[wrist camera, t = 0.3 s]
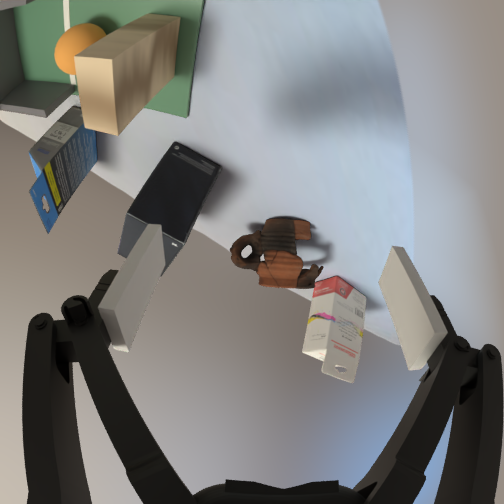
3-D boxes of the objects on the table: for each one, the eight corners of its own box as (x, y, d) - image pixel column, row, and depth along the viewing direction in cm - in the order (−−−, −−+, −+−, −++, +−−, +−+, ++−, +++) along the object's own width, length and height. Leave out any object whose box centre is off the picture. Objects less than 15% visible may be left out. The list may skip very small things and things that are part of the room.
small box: (171, 137, 30) (123, 211, 24) (224, 166, 32) (188, 245, 26) (150, 189, 38) (114, 255, 33) (193, 211, 40) (162, 279, 35)
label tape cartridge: (71, 103, 28) (3, 178, 21) (96, 111, 28) (28, 190, 22) (77, 153, 35) (26, 223, 29) (99, 161, 36) (48, 235, 29)
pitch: (9, -13, 13) (-51, 21, 8) (210, -31, 14) (150, -16, 10) (24, 87, 25) (-20, 129, 21) (188, 115, 27) (147, 173, 23)
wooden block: (147, 13, 17) (74, 56, 13) (180, 17, 17) (112, 59, 13) (144, 71, 22) (85, 127, 18) (174, 76, 23) (118, 136, 18)
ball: (77, 16, 17) (40, 37, 15) (119, 16, 18) (82, 36, 15) (80, 58, 22) (47, 83, 19) (119, 62, 22) (87, 87, 19)
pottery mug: (335, 221, 35) (332, 290, 35) (311, 230, 45) (308, 285, 44) (234, 212, 34) (229, 286, 33) (229, 223, 43) (225, 281, 43)
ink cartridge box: (313, 281, 48) (295, 371, 40) (337, 274, 44) (321, 371, 37) (344, 303, 51) (331, 384, 44) (368, 297, 48) (356, 384, 40)
